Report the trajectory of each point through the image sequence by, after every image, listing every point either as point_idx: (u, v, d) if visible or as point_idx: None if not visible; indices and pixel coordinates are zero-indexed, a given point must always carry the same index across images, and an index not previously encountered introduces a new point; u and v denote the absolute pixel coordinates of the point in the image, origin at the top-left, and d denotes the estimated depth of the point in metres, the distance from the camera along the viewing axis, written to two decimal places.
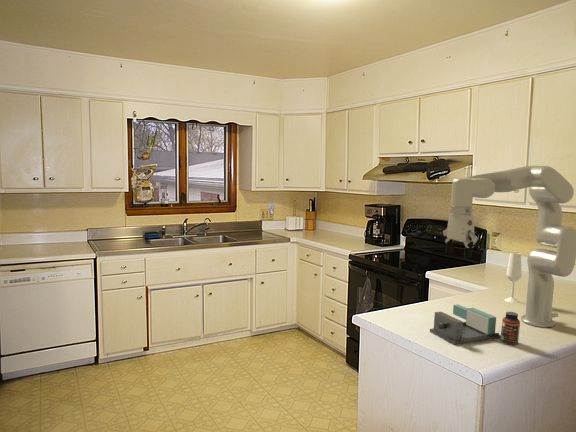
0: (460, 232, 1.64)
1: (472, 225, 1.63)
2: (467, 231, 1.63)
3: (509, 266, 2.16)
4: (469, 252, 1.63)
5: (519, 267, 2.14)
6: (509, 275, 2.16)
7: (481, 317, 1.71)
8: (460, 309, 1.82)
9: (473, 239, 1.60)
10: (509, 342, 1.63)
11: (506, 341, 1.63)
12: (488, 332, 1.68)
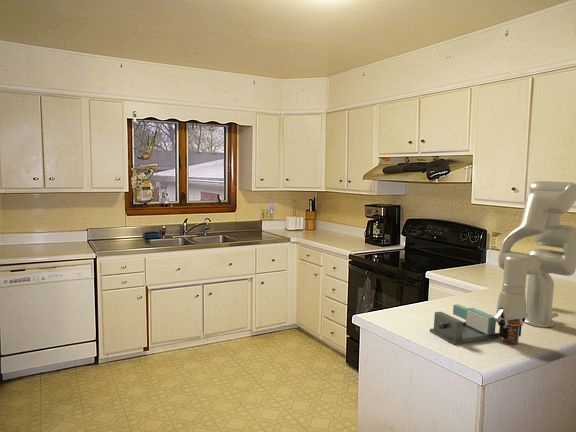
0: (522, 310, 1.63)
1: None
2: None
3: None
4: None
5: None
6: None
7: (481, 317, 1.71)
8: (460, 309, 1.82)
9: (525, 316, 1.66)
10: (509, 342, 1.63)
11: (506, 341, 1.63)
12: (488, 332, 1.68)
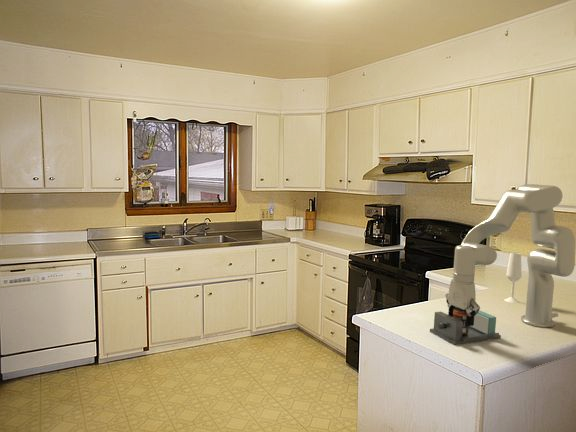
0: None
1: None
2: None
3: (509, 266, 2.16)
4: None
5: (519, 267, 2.14)
6: (509, 275, 2.16)
7: (481, 317, 1.71)
8: None
9: None
10: None
11: (467, 331, 1.69)
12: (488, 332, 1.68)
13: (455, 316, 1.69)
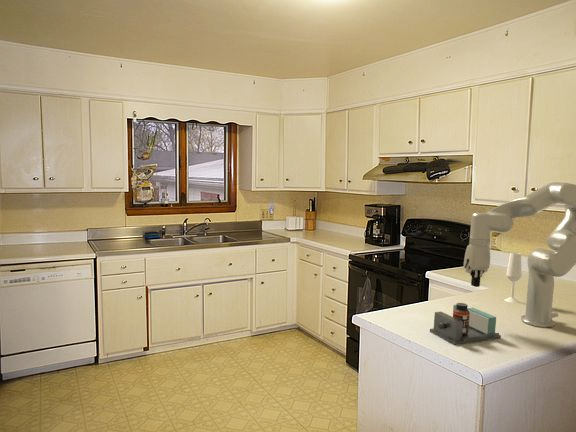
0: (487, 261, 1.82)
1: None
2: None
3: (509, 266, 2.16)
4: None
5: (519, 267, 2.14)
6: (509, 275, 2.16)
7: (481, 317, 1.71)
8: None
9: (485, 270, 1.84)
10: None
11: (467, 331, 1.69)
12: (488, 332, 1.68)
13: (455, 316, 1.69)
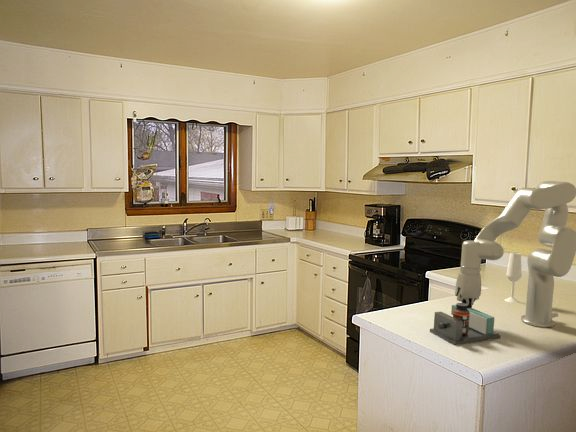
0: (478, 289, 1.82)
1: None
2: None
3: (509, 266, 2.16)
4: None
5: (519, 267, 2.14)
6: (509, 275, 2.16)
7: (479, 317, 1.71)
8: None
9: (477, 298, 1.84)
10: None
11: (467, 331, 1.69)
12: (486, 332, 1.68)
13: (455, 316, 1.69)
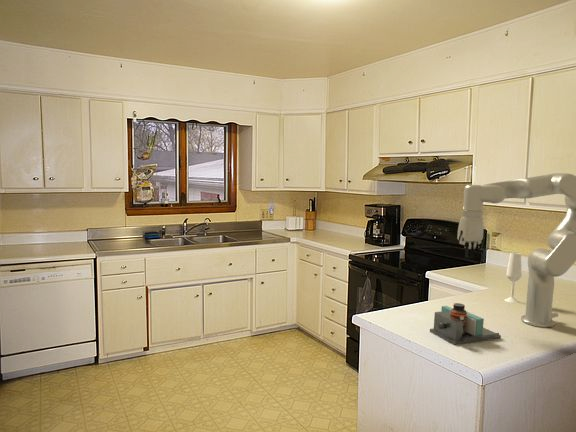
0: (480, 233, 1.84)
1: None
2: None
3: (509, 266, 2.16)
4: None
5: (519, 267, 2.14)
6: (509, 275, 2.16)
7: (468, 319, 1.69)
8: (448, 310, 1.80)
9: (479, 242, 1.87)
10: None
11: (464, 332, 1.68)
12: (475, 334, 1.66)
13: (452, 316, 1.68)
